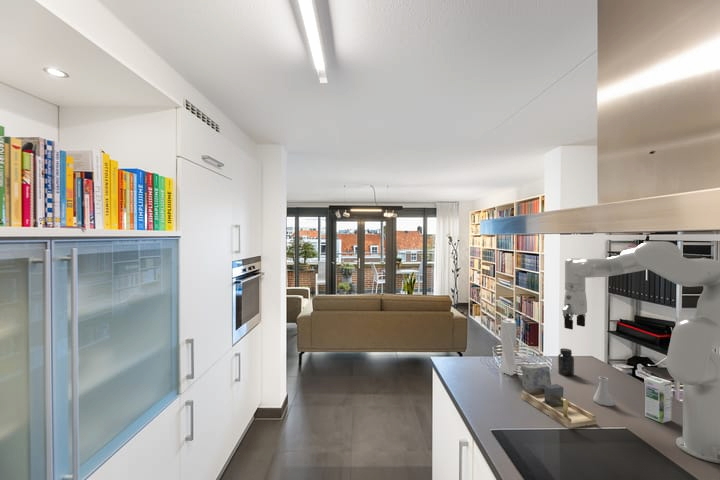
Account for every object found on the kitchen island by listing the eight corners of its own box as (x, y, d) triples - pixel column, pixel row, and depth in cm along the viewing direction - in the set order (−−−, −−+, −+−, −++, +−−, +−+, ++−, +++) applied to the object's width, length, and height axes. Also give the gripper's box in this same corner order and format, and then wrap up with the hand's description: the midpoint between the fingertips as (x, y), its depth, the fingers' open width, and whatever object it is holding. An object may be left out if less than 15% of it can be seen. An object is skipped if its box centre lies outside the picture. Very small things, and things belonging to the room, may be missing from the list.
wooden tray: (596, 424, 124) (596, 398, 125) (568, 428, 122) (568, 402, 122) (545, 395, 148) (545, 374, 148) (521, 398, 145) (521, 376, 145)
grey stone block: (537, 383, 160) (537, 361, 160) (552, 391, 152) (552, 367, 152) (519, 385, 157) (519, 362, 158) (533, 393, 149) (533, 369, 150)
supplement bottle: (560, 370, 177) (560, 346, 177) (576, 374, 172) (576, 349, 172) (556, 373, 172) (556, 349, 172) (571, 377, 167) (571, 352, 167)
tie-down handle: (565, 405, 135) (565, 386, 135) (548, 407, 133) (548, 388, 133) (559, 402, 138) (559, 383, 138) (542, 404, 136) (542, 385, 136)
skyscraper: (496, 372, 174) (496, 316, 174) (503, 368, 179) (503, 314, 179) (512, 376, 168) (512, 318, 168) (519, 372, 173) (519, 316, 173)
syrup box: (644, 416, 130) (644, 377, 130) (654, 413, 132) (654, 375, 132) (662, 423, 125) (662, 383, 125) (672, 420, 127) (672, 380, 127)
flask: (618, 407, 137) (618, 382, 137) (597, 405, 139) (597, 380, 139) (609, 399, 144) (609, 375, 144) (589, 397, 146) (589, 373, 146)
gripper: (573, 289, 141) (573, 332, 141) (594, 287, 150) (594, 326, 150) (554, 287, 148) (554, 327, 148) (576, 285, 157) (576, 323, 157)
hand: (574, 327), depth 149 cm, fingers open, 9 cm apart
